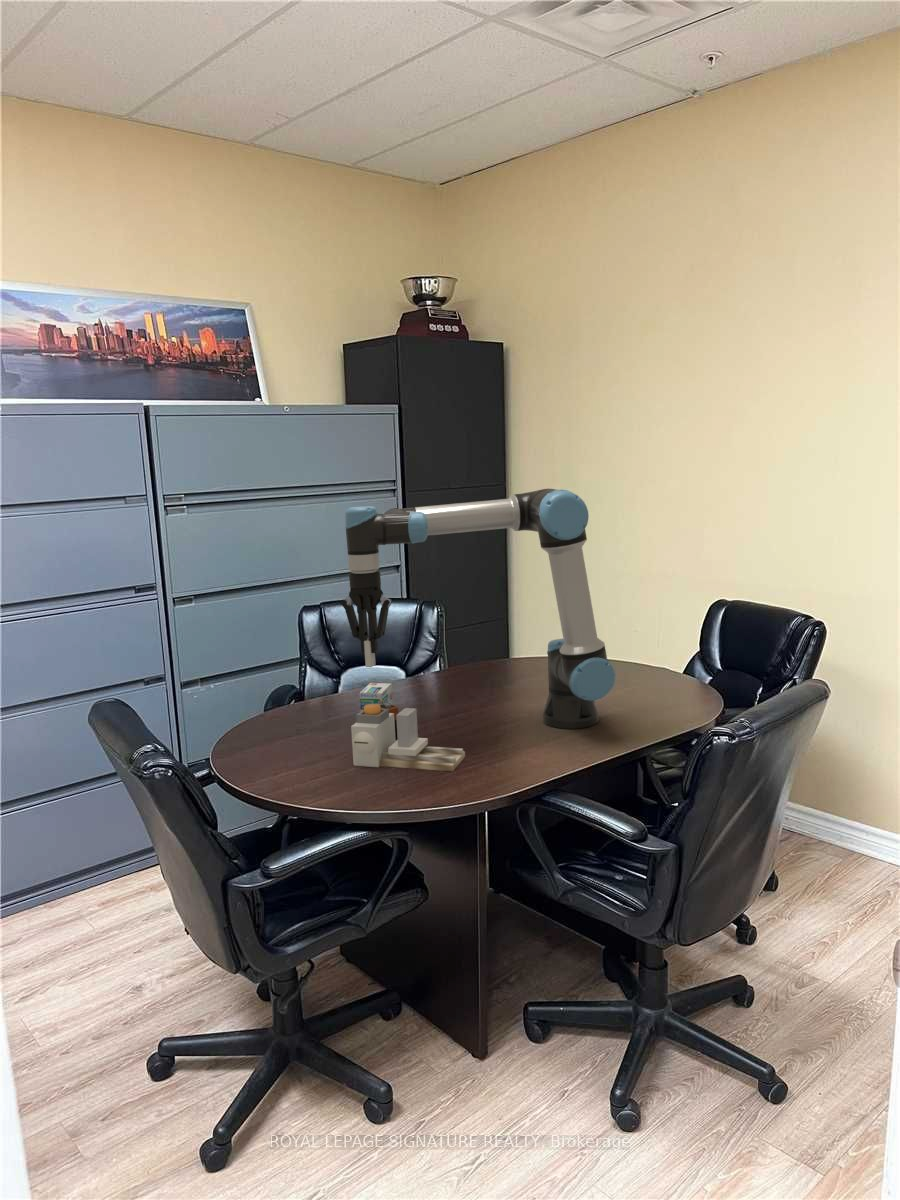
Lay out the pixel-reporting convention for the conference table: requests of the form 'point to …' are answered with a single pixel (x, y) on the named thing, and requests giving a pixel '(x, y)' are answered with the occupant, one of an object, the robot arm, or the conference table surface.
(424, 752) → the rail bed
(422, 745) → the carriage
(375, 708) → the button
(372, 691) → the light bulb box
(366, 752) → the cabinet
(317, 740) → the conference table surface
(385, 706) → the battery
